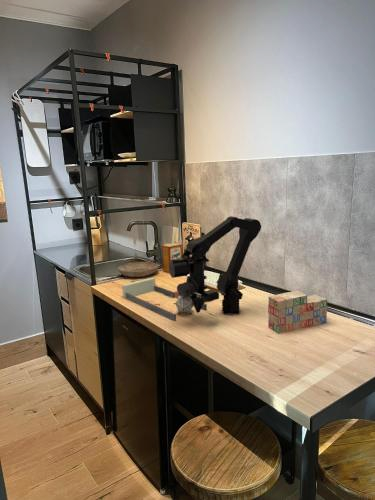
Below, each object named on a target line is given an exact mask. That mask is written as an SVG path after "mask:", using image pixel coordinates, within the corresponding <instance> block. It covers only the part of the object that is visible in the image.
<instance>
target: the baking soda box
mask: <svg viewBox="0 0 375 500" xmlns="http://www.w3.org/2000/svg"><path fill="white" fill-rule="evenodd" d="M161 249H162V250H161V252H162V269H163V270H162V271H163V273H166V274H169V275H170V272H169V267H170V263H171V259H182V258H181V257H182V255H183V244H181V243H178V242H177V243H176V242H174V243H167V244H163V245H161Z"/></svg>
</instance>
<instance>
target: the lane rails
mask: <svg viewBox="0 0 375 500" xmlns="http://www.w3.org/2000/svg"><path fill="white" fill-rule="evenodd" d="M153 292H156V293H159V294H161V295H163V296H168V297H170V298H172V299H176V298H175V293H174V292H175V291H171V290H168V289H166V288H163V287H160V286H158V285H156V284H155V286H154V291H153ZM125 295H126V298H125V299H126V300H129V302H132V303H134V304H137V305H139V306H142V307H143V308H145V309H148V310H150V311H151V312H153V313H156V314H158V315H160V316H163V317H165V318H167V319H169V320H171V321H174V322H177V314H176V313H173V312H171V311H169V310H167V309H165V308H162V307H160V306H158V305H155V304H153V303H151V302H148V301H146V300H144V299H142V298H139V297H137V296H133V295H130V294H128V293H125ZM207 305H208V304H206V303H204V304H203V306H202V308H201V310H203V311H207V310H208V306H207ZM193 307H194V305H193Z"/></svg>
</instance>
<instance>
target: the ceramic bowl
mask: <svg viewBox="0 0 375 500" xmlns="http://www.w3.org/2000/svg"><path fill="white" fill-rule="evenodd" d="M159 268H160V266H159V264H158V263H156V262H152V261H151V262H150V261H136V262H135V261H134V262H128V263H124V264H121V265H120V266H118V267H117V271H118V272H119V273H120V274H121V275H123V276H125V277H129V278H142V277H146V276H150V275H152V274H153V273H155V272H157V270H158V269H159Z"/></svg>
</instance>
